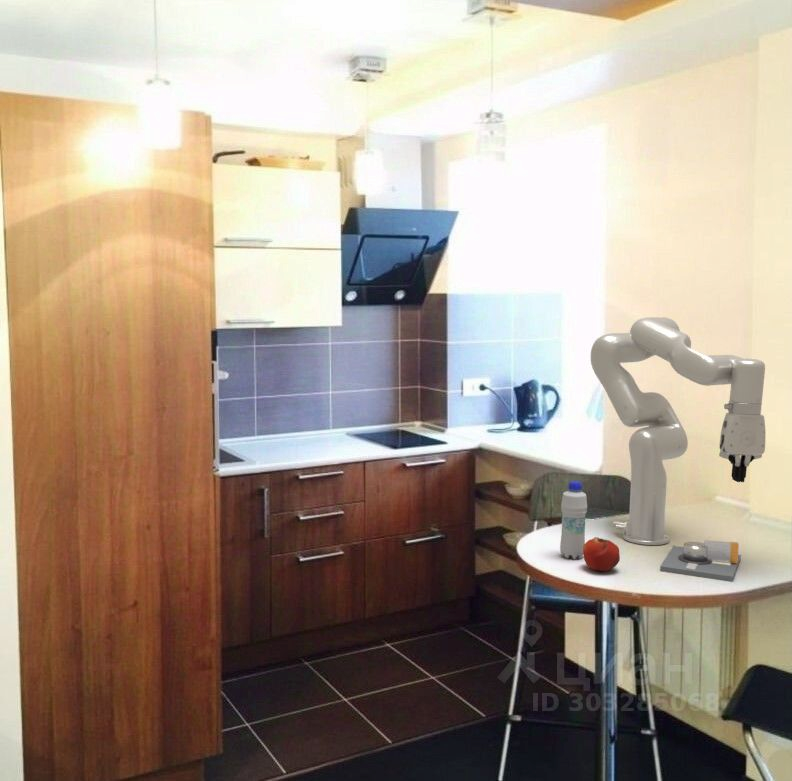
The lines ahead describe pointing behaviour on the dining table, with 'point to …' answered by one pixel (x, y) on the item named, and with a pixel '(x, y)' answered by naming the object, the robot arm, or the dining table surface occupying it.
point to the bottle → (573, 521)
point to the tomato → (601, 554)
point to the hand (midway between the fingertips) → (738, 480)
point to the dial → (711, 551)
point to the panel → (698, 566)
